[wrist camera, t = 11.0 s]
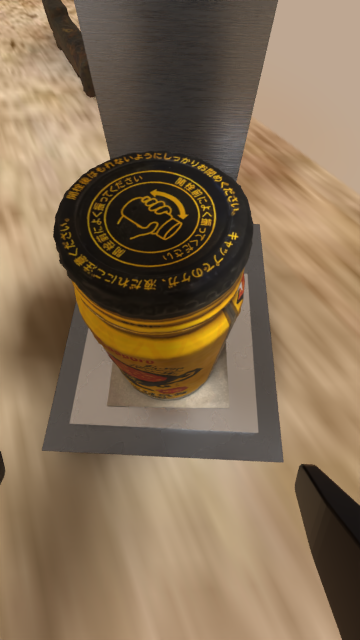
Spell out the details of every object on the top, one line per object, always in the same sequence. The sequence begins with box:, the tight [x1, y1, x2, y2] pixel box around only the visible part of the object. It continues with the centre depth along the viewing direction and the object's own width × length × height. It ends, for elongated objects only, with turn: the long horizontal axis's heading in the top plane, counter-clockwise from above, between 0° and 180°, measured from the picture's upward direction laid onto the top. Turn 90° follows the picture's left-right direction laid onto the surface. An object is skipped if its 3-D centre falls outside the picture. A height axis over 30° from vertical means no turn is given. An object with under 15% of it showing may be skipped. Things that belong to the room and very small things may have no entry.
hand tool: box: [42, 0, 96, 97], centre depth 36 cm, size 19×4×5 cm, turn 26°
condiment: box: [53, 150, 254, 408], centre depth 13 cm, size 7×8×12 cm
